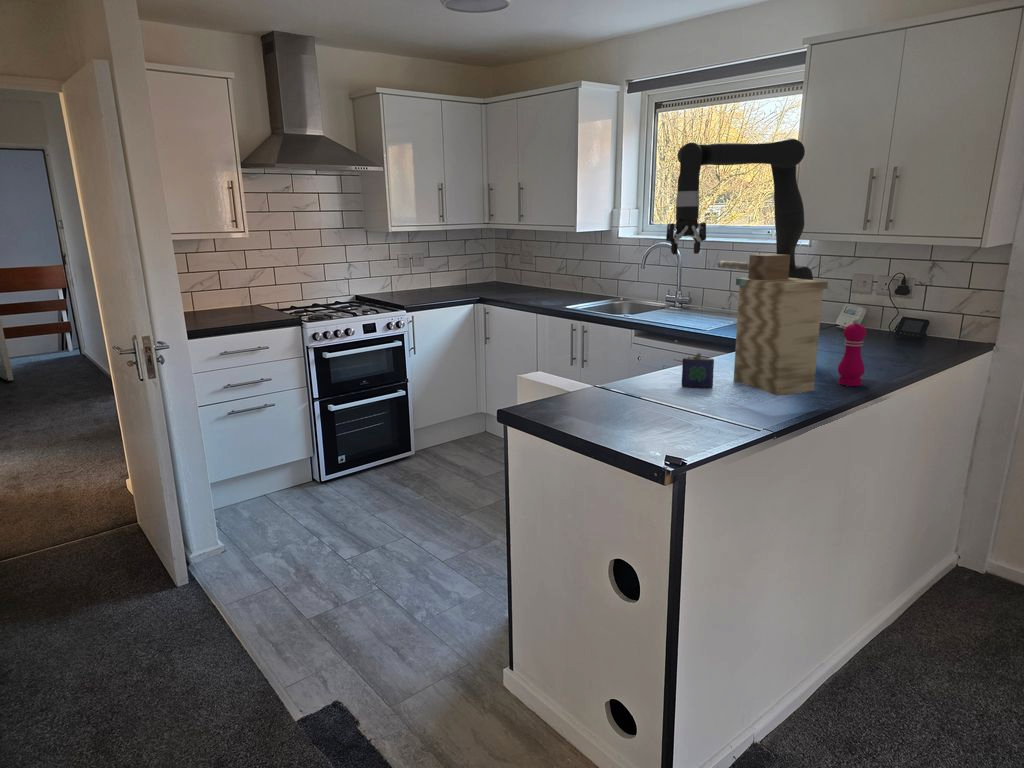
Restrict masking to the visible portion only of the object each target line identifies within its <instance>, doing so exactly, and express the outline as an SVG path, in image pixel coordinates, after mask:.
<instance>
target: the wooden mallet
mask: <svg viewBox="0 0 1024 768" xmlns="http://www.w3.org/2000/svg"><path fill="white" fill-rule="evenodd" d="M789 265H790V255H782V254H777V253H765V254H749V260H748V262H742V261H732V260H731V261H729V260H719V261H717V267H718V268H719V269H727V270H728V269H729V270H737V271H748V275H747V278H750V279H758V280H780V279H788V278H789Z"/></svg>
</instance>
